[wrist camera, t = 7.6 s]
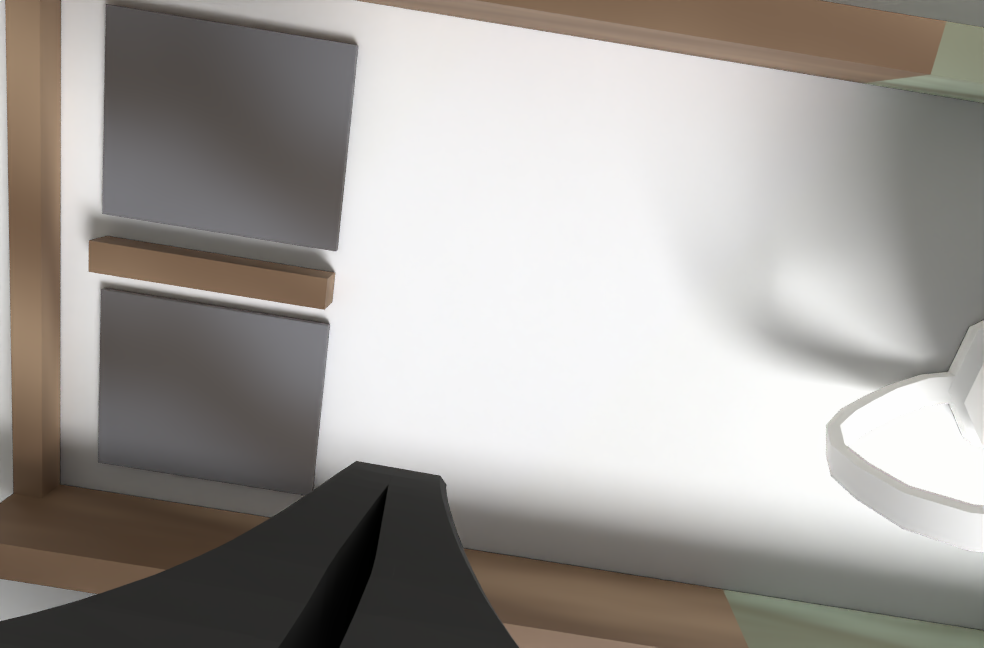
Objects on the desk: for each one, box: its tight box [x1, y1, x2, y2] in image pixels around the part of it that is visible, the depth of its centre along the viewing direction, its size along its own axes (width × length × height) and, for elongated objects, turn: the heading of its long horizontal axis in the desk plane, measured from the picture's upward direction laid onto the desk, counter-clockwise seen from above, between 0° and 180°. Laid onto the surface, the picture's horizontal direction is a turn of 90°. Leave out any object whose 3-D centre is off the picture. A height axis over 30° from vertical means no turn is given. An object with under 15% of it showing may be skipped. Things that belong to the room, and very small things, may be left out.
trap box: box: [0, 0, 984, 648], centre depth 18 cm, size 16×30×3 cm, turn 81°
